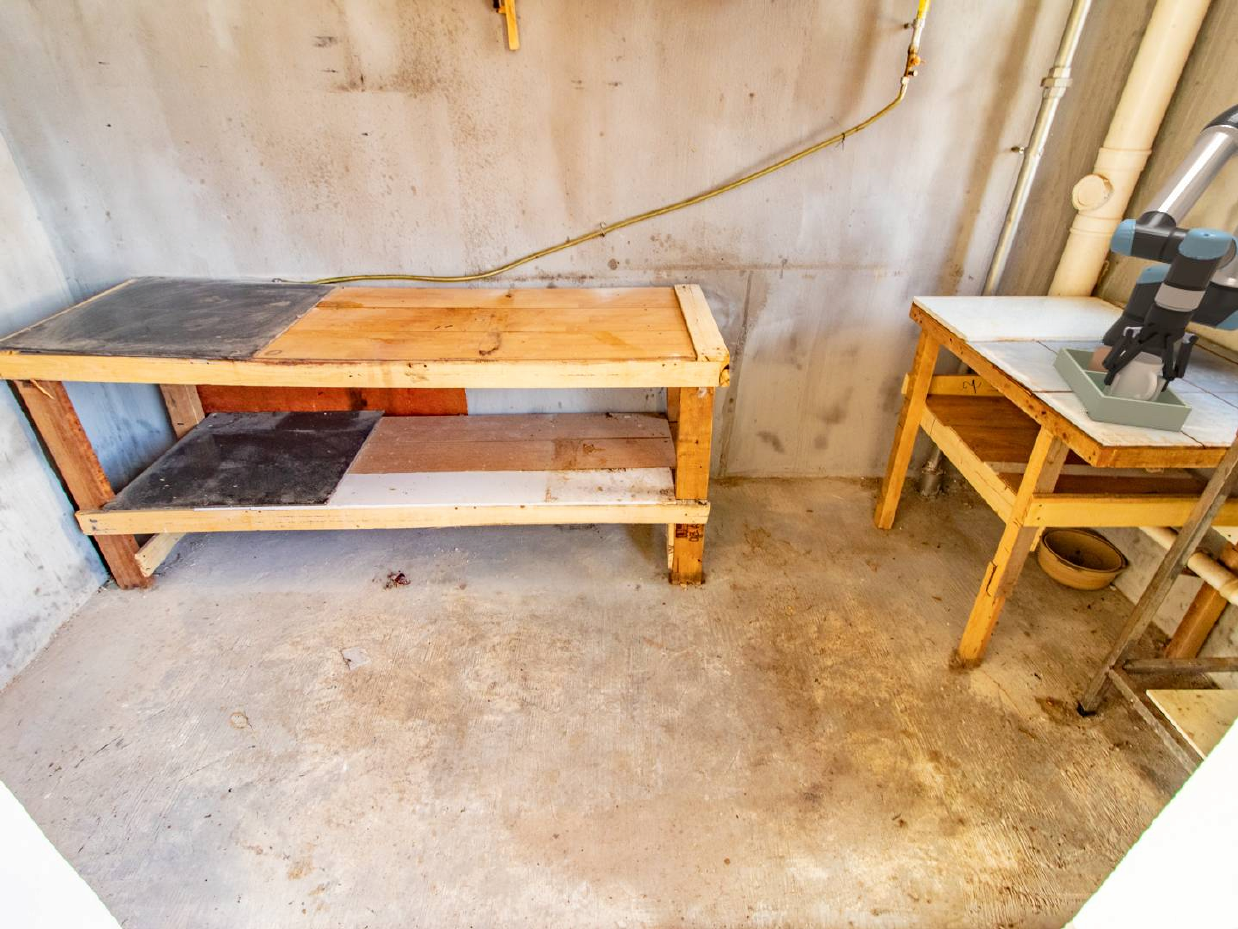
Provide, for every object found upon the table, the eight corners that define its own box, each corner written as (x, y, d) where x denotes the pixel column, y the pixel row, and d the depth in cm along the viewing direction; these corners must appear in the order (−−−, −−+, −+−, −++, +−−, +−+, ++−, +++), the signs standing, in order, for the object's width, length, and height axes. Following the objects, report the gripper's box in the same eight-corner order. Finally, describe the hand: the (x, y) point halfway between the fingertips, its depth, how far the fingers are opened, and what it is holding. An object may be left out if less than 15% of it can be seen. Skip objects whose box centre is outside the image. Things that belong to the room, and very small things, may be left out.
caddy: (1126, 376, 169) (1136, 355, 166) (1179, 431, 144) (1192, 408, 141) (1052, 367, 173) (1060, 347, 170) (1091, 419, 148) (1102, 397, 145)
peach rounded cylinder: (1111, 377, 167) (1125, 348, 162) (1123, 389, 160) (1138, 359, 156) (1079, 373, 168) (1092, 344, 164) (1089, 385, 162) (1102, 355, 158)
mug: (1160, 415, 146) (1183, 373, 140) (1120, 411, 147) (1142, 369, 141) (1132, 392, 156) (1152, 352, 151) (1095, 388, 157) (1114, 348, 151)
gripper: (1222, 305, 140) (1170, 400, 152) (1112, 294, 144) (1071, 387, 156) (1240, 317, 134) (1185, 414, 146) (1125, 305, 138) (1081, 401, 150)
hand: (1126, 400), depth 151 cm, fingers open, 8 cm apart
